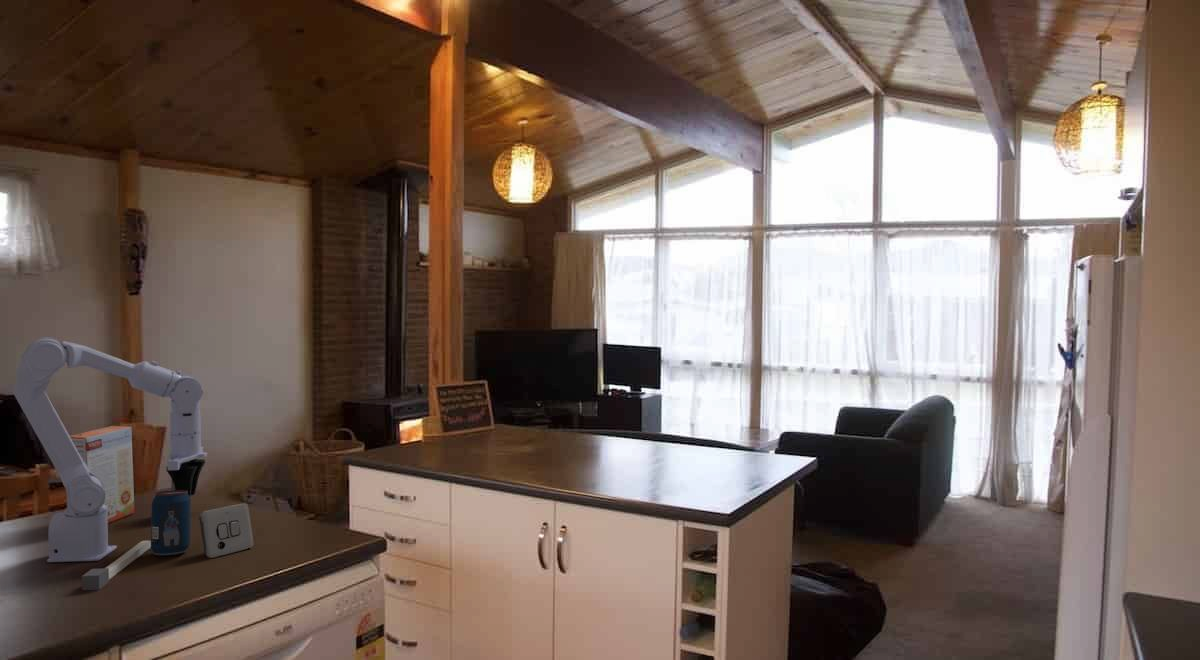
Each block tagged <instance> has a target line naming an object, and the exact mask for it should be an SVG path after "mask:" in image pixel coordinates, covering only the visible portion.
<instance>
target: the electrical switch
mask: <svg viewBox="0 0 1200 660" xmlns="http://www.w3.org/2000/svg"><path fill="white" fill-rule="evenodd" d="M198 519H199V526H200V533H201V538H202V539H201V540H202V545H203V553H204V555H206V557H207V558H209V559H212V558H217V557H220V556H225V555H228V554H232V553H236V552H240V551H245V550H248V548H249V549H251V548H253V546H254V538H253V530H252V524H251V518H250V511H249V505H248V504H247V503H239V504H234V505H228V506H224V507H223V506H222V507H220V508H215V509H208V510H204V511H202V512H201V514H200V516H199V517H198Z"/></svg>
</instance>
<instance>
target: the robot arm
mask: <svg viewBox="0 0 1200 660" xmlns="http://www.w3.org/2000/svg"><path fill="white" fill-rule="evenodd" d="M66 363H67V368H68V369H71V368H77V367H88V368H92V369H96V370H99V371H102V372H104V373H109V374H111V375H115V376H118V377H120V378H121V377H122V378H124V379H127V380H128V382H129V385H130V386H131V387H132V388H134V389H137V390H140V391H142V392H146V393H149V394H152V395H155V396H157V397H161V398H168V397H169V398H170V399H171V400H170V412H169V427H170V428H169V430H170V431H169V433H170V434H169V435H170V437H169V438H170V440H169V441H170V442H169V443H170V454H169V460H167V461H166V463H167V466H166V469H165V470H166V472H167V473H168V475H169V477H170V479H171V478H172V480H173V483H174V486H175V489H176V490H186V491H188V495H189V497H190V498H191V496H194V495H195V494H196V491H197V485H198V481H199V477H200V474H201V472H202V469H203V467H204V466H205V464H206V459H204V458H205V457H207V456H208V452H207V451H205V452H204V446H202V434H201V433H202V426H201V425H202V423H201V416H202V415H201V413H202V412H201V410H200V408H201V402H200V400H201V399H202V397H203V395H204V394H203V393H204V390H203V388H202V385H201V384H200V382H199V381H198V380H196V379H195V378H194V377H192V376H189V375H188V374H187V373H186V374H185V373H182V371H181V370H178V369H177V370H175V371H173V370H171V369H168V368H165V367H162V366H159V362H157V361H154V360H151V361H150V362H148V361H145V360H143V361H141V362H138V363H132V362H129V361H126V360H123V359H120V358H119V357H115V356H112V355H110V354H108V353H105V352H102V351H99V350H96V349H95V348H92V347H89V346H86V345H83V344H79V343H74V342H72V341H71V342H69V341H65V340H64V341H62V342H61V341H59V340H58V339H56V338H54V337H48V336H47V337H40V338H37V339H35V340H33V341H32V342H31V343H30V344H29V345H28V346H27V348H26V349H25V351H24V353H23V354H22V356H21V359H20V360H19V365H18V369H17V372H16V373H17V374H16V377H15V378H16V379H15V382H14V386H13V395H14V397H15V399H16V400H17V402H18V405H19V406H20V408H21V410H22V411H23V414H25V417H26V419H27V420H28V422H29V423H30V426H31V428H32V429H33V431H34V432H35V433H34V434H35V435H36V436H37V438H38V440H39V442H40V443H41V445H42V447H43V448H44V450H45V452H46V454H47V456H48V457H49V459H50V461H51V462H52V465H53V467H54V468H55V471H56V472H57V473H58V475H59V478H60V481H61V482H62V484H63V486H64V488H65V491H66V492H65V494H66V493H67V497H66V505H67V504H68V507H67V506H66V508H65V509H64V511H61V512H60V511H59V512H56V513H54V514H53V515H52V517H50V521H49V524H48V559H46V562H47V563H64V562H65V563H66V562H67V563H69V562H70V563H71V562H94V561H95V562H96V561H97V562H98V561H100V560H101V559H103V558H105V557H106V556H108V555H109V554H110V553H112V552H113V551H114V550H116V549H117V547H118V545H109V533H108V532H109V531H108V529H109V525H108V524H109V523H108V517H107V506H106V505H104V502H105V498H106V495H105V491H104V489H103V483H102V481H101V480H100V478H98V477H97V476H95V475H94V474H92V473H91V472H90V471H89V469H88V467H87V465H86V464H85V463H84V461H83V460H82V458H81V456H80V454H79V452H78V450H77V449H76V447H75V445H74V443H73V441H72V440H71V438H70V436H71V435H70V434H69V432H68V431H67V429H66V427H65V425H64V423H63V422H62V420H61V418H60V416H59V414H58V412H57V410H56V409H55V407H54V405H53V404H52V402H51V399H50V398H49V396H48V395H47V392H46V389H47V388H48V386H49V384H50V381H51V380H52V377H53V376H54V375H55V374H57V372H59V370H61V368H62V367H63V366H64V365H65V364H66ZM200 458H203V459H200Z"/></svg>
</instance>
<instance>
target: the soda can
mask: <svg viewBox="0 0 1200 660" xmlns="http://www.w3.org/2000/svg"><path fill="white" fill-rule="evenodd" d="M191 501H192V500H191V496H190V497H189V495H188V491H186V490H174V491H172V490H165V491H164V490H163V491H159V492H155V496H154V497H153V500H152V501H151V525H150V526H151V528H150V533H151V534H150V541H151V547H150V549H151V550H152V552H153V554H154V555H155V556H172V555H177V554H182V553H185V552H187V550H188V549H189V546H190V545H191V514H192V513H191V512H192V511H191V509H192V508H191V505H192V503H191Z"/></svg>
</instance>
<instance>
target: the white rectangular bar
mask: <svg viewBox="0 0 1200 660" xmlns="http://www.w3.org/2000/svg"><path fill="white" fill-rule="evenodd" d="M149 549H151V540H142V541H140V542H139V543H137V544H136V545H135V546H133V547H132V548H131V549H129V550H127V551H126V552H125V553H124V554H122V555H121V556H120V557H118V558H117V559H116V560H115V561H113V562H111V563H110V564H109V565H107V566H106V567H104V568H103V567H102V568H90V570H88V571H87V572H85V573H84V574H83V575H82V576H81V589H82V590H81V591H99V590H101V589H102V588H104V587H105V586H106V585H108V584H109V583H110V579H112V578H113V577H114V576H115V575H117V574H118V573H119V572H121V571H122V570H124V569H125V568H126V567H127V566H128V565H130V564H131V563H132V562H134V561H136V559H138V558H139V557H140V556H142V555H143V554H144V553H145V552H146V551H148V550H149Z"/></svg>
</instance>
